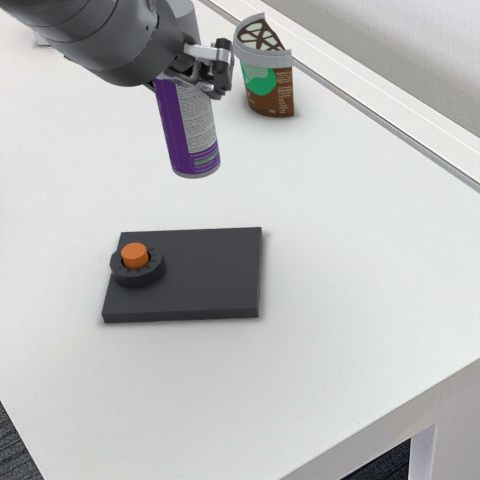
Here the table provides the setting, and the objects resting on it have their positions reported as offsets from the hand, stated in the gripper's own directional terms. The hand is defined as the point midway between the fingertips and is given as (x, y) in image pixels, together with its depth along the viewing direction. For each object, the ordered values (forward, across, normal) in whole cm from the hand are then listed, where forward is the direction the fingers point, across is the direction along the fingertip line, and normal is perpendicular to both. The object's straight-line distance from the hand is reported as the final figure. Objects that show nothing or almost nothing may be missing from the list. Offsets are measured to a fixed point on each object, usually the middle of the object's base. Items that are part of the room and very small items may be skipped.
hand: (190, 85), depth 69 cm
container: (+4, 0, -6) cm, 8 cm away
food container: (+39, -5, +8) cm, 40 cm away
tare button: (+11, -8, -16) cm, 21 cm away
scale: (+14, -3, -17) cm, 22 cm away
